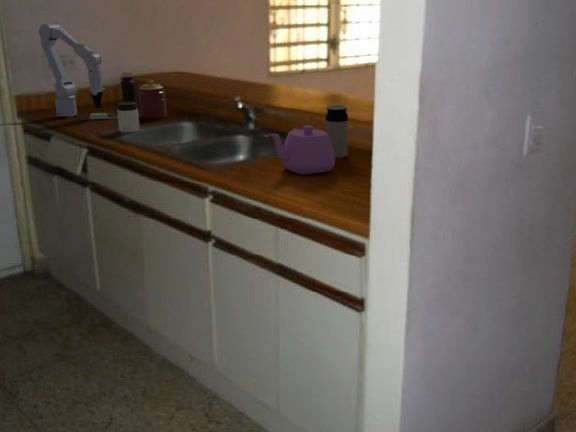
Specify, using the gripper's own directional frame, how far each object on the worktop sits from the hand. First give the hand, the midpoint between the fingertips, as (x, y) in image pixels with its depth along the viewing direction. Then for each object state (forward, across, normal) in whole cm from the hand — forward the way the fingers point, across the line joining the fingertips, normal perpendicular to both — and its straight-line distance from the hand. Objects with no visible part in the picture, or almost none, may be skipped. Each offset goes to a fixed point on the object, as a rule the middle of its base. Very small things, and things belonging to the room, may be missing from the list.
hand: (98, 108), depth 325 cm
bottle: (+5, +12, -14) cm, 19 cm away
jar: (+5, -34, -17) cm, 39 cm away
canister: (+5, -4, -26) cm, 27 cm away
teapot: (+5, -116, -82) cm, 142 cm away
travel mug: (+5, -98, -96) cm, 137 cm away
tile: (+3, +2, 0) cm, 4 cm away
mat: (+5, +2, -1) cm, 5 cm away
